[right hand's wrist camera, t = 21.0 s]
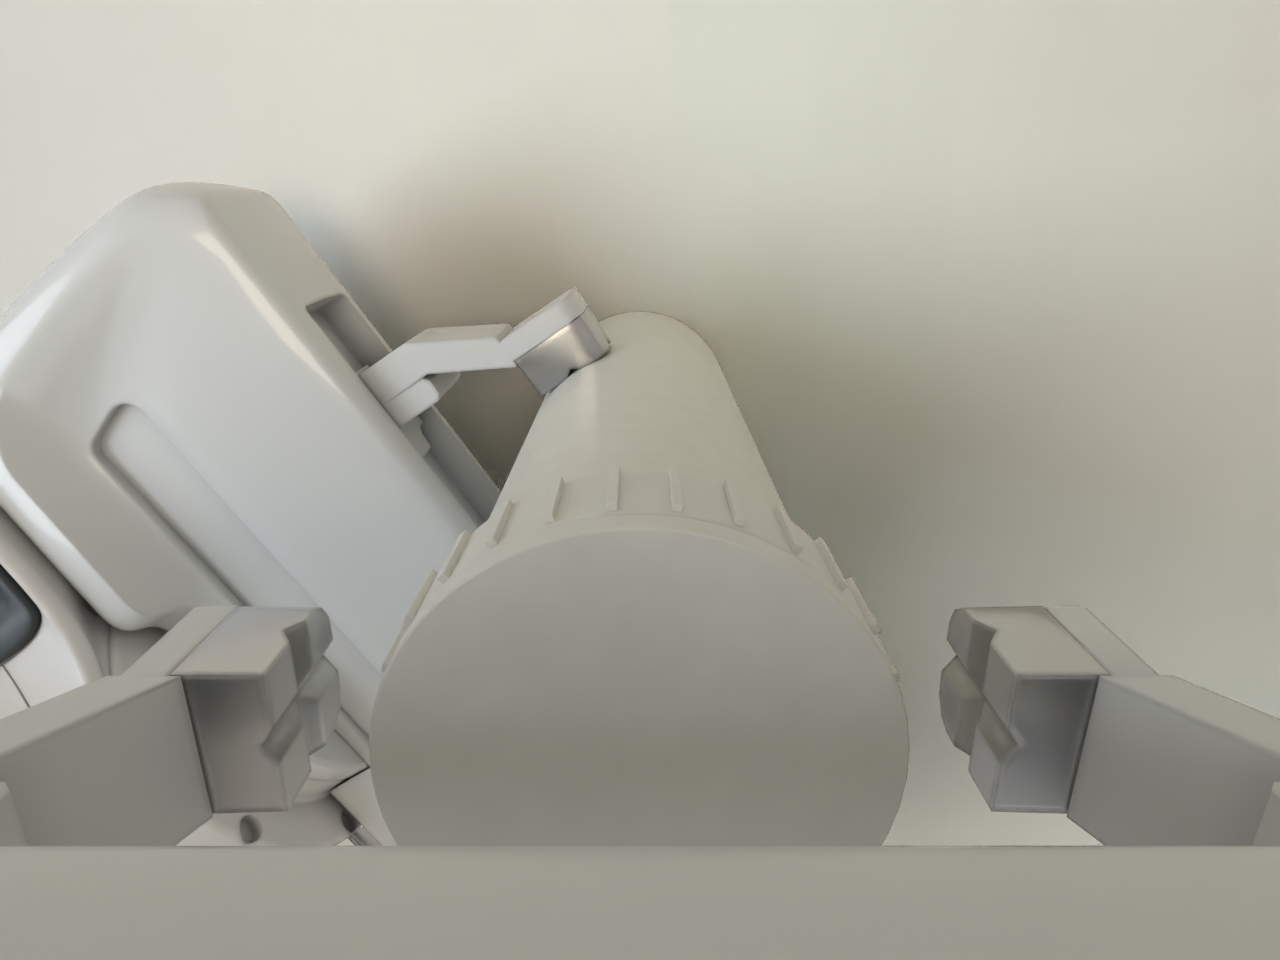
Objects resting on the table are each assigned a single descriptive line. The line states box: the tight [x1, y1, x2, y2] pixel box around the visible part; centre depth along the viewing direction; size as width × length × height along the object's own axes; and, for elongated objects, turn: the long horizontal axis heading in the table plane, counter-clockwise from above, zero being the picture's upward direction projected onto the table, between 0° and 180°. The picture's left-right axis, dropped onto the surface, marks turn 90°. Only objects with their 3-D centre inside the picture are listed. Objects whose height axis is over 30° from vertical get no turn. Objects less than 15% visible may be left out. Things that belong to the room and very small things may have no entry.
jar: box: [490, 312, 784, 518], centre depth 16 cm, size 5×5×16 cm
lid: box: [369, 466, 909, 846], centre depth 9 cm, size 6×6×2 cm
